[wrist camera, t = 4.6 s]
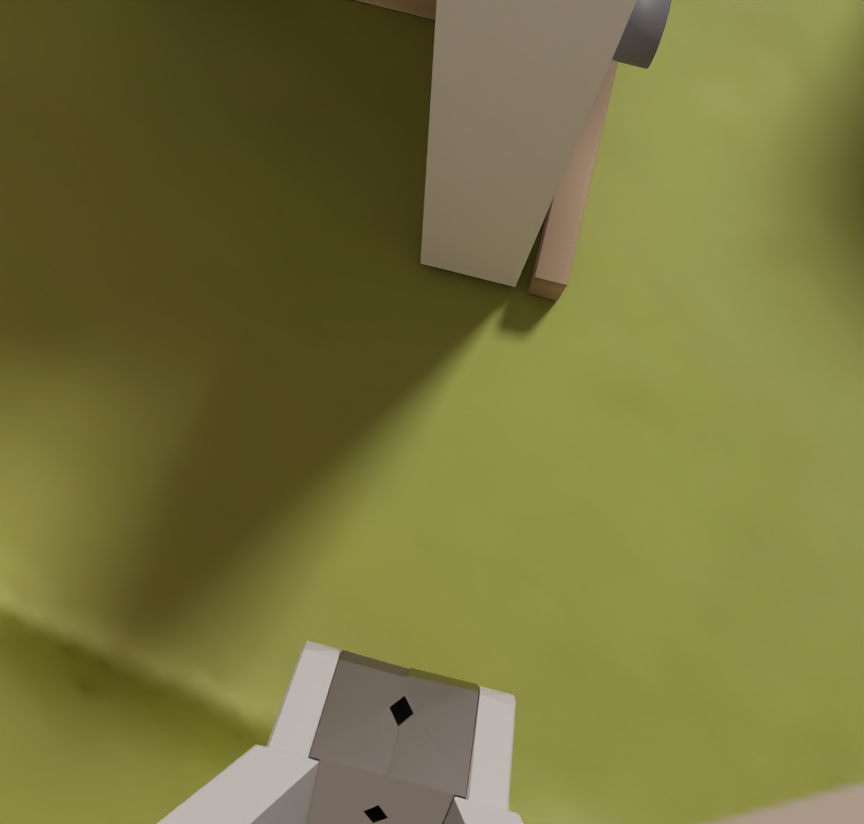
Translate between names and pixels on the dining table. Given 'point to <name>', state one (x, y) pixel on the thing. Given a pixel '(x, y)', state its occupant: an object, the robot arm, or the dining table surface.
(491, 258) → the door
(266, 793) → the robot arm
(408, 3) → the cabinet
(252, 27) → the dining table surface
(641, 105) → the dining table surface
